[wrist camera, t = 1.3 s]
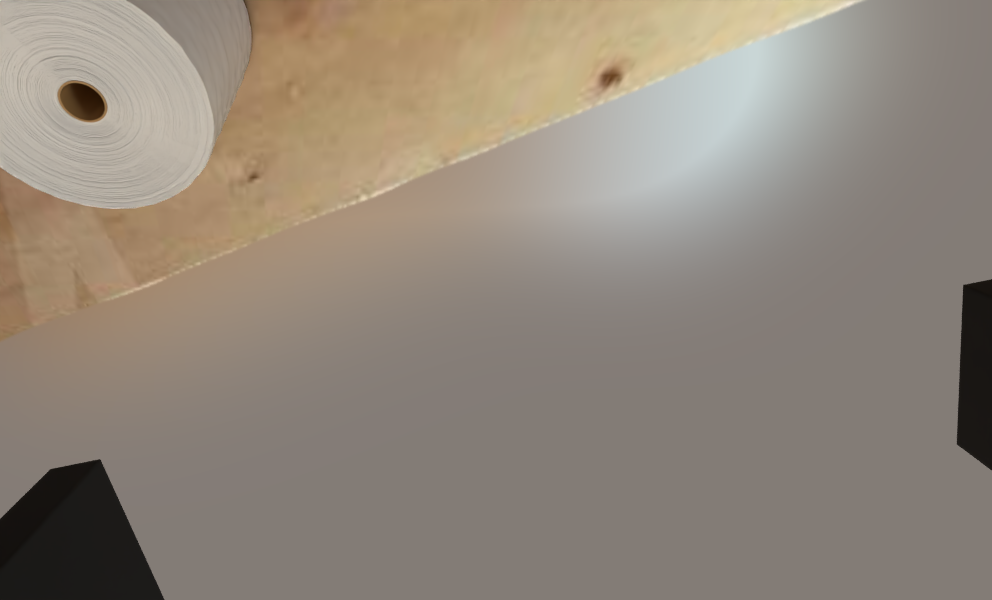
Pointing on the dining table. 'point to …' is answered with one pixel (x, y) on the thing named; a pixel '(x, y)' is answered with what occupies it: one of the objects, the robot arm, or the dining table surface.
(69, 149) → the toilet tissue
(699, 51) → the dining table surface
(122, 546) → the robot arm
